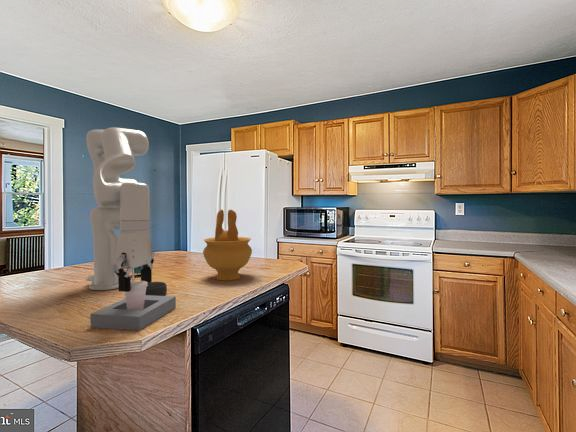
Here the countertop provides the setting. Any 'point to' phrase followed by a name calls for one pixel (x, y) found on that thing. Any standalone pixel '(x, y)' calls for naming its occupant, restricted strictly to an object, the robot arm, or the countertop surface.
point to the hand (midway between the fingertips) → (136, 286)
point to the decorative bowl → (227, 248)
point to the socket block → (132, 313)
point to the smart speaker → (156, 288)
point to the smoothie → (136, 294)
